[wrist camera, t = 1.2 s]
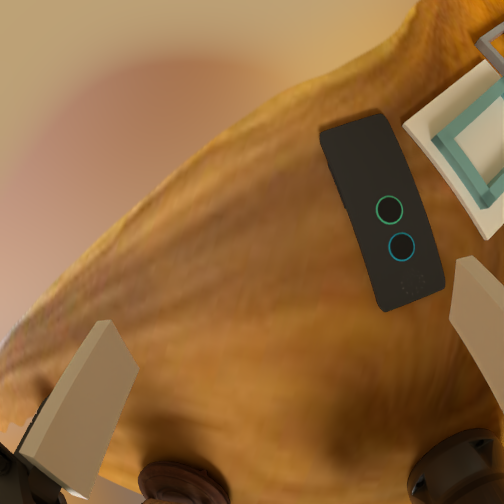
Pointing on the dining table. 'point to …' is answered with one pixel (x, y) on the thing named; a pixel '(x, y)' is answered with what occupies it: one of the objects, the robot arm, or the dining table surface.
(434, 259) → the smart home device
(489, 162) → the dock
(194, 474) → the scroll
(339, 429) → the dining table surface
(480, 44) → the grey frame
